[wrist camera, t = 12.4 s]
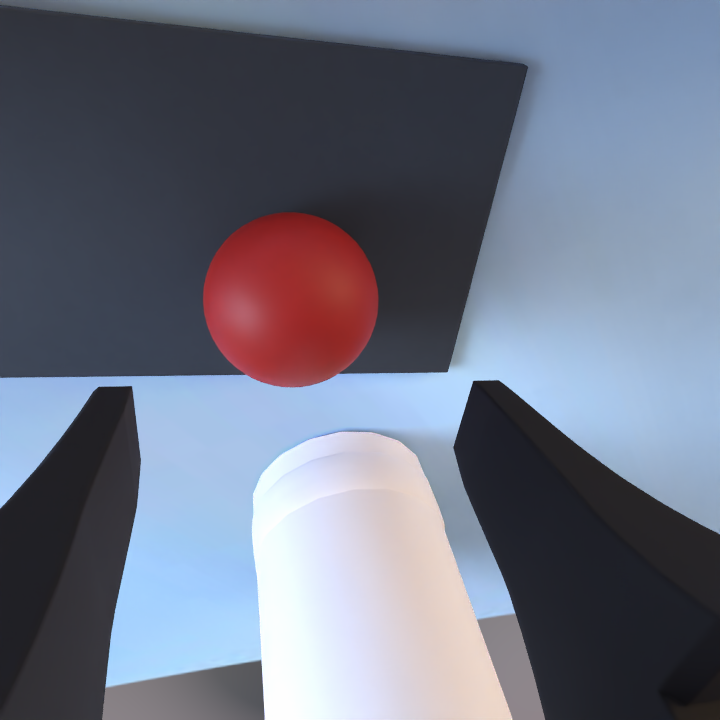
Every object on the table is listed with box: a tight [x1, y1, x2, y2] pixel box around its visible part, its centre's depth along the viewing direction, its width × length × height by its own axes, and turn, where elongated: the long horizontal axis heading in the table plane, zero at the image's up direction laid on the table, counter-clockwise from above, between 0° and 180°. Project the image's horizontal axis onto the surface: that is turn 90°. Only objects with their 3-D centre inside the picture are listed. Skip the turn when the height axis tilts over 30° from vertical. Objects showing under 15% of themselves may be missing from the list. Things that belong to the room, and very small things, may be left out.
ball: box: [203, 212, 378, 387], centre depth 17 cm, size 5×5×5 cm
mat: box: [0, 5, 528, 378], centre depth 19 cm, size 16×11×1 cm
